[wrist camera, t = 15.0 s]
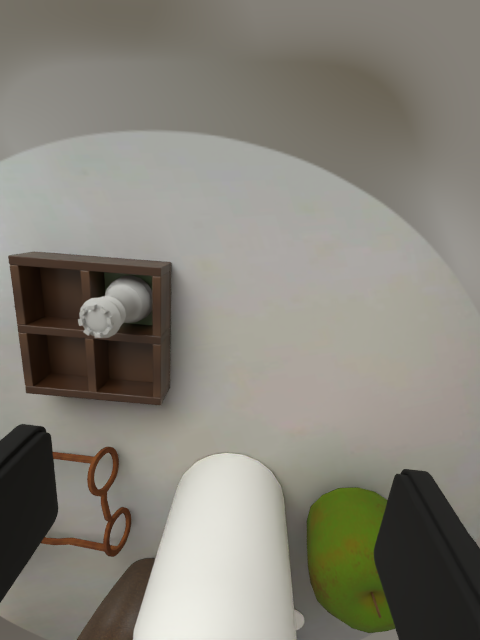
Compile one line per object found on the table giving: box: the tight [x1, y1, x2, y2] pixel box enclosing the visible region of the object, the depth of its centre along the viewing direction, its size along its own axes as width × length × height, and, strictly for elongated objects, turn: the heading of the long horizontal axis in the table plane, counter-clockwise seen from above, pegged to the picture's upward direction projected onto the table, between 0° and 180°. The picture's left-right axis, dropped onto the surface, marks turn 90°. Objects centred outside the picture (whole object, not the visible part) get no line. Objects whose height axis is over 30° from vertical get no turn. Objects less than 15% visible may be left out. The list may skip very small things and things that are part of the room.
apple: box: [307, 488, 395, 633], centre depth 35 cm, size 11×11×11 cm
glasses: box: [41, 447, 131, 557], centre depth 38 cm, size 13×13×5 cm
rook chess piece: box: [78, 275, 152, 338], centre depth 29 cm, size 4×4×8 cm
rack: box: [8, 252, 171, 405], centre depth 33 cm, size 13×13×4 cm
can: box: [133, 453, 297, 640], centre depth 30 cm, size 12×12×20 cm
